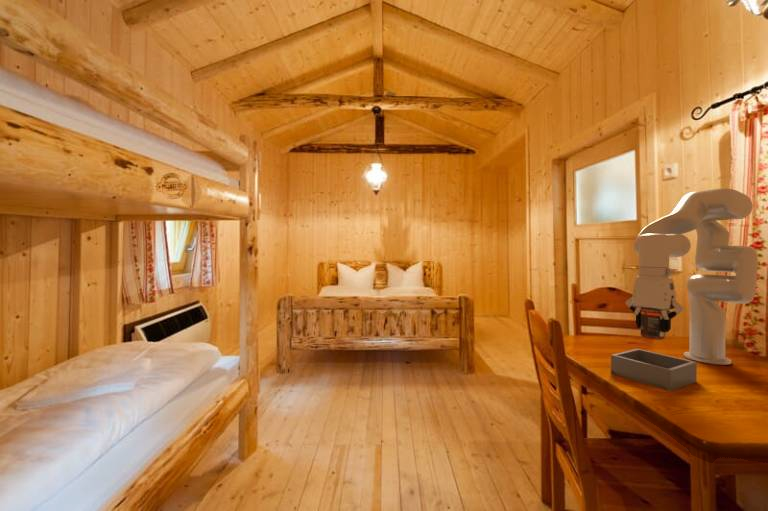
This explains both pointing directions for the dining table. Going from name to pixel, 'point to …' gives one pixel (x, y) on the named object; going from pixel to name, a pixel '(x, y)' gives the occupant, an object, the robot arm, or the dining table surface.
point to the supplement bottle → (651, 324)
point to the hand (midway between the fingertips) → (652, 329)
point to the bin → (654, 369)
